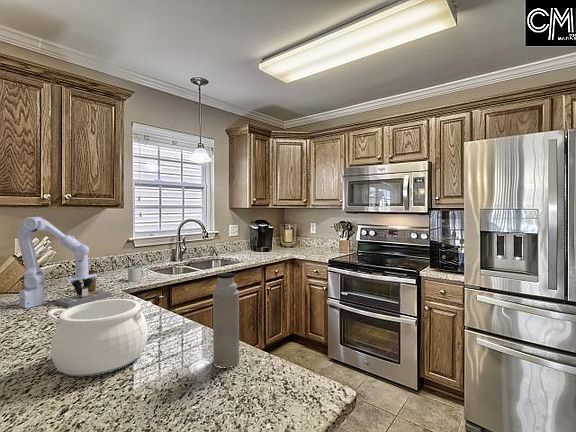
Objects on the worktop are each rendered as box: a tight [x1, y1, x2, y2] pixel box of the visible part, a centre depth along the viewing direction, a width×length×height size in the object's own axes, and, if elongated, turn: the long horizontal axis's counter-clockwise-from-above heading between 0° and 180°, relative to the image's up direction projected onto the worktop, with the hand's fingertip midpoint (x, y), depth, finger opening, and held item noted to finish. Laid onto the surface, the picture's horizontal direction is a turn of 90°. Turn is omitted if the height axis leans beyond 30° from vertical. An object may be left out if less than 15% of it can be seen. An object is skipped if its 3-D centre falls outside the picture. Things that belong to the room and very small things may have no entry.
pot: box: [46, 298, 152, 378], centre depth 101 cm, size 29×26×17 cm
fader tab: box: [76, 285, 88, 297], centre depth 165 cm, size 3×5×5 cm, turn 62°
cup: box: [127, 266, 145, 283], centre depth 211 cm, size 7×10×9 cm
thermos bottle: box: [212, 272, 240, 367], centre depth 99 cm, size 8×8×28 cm
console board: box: [54, 289, 113, 308], centre depth 167 cm, size 22×12×2 cm, turn 152°
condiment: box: [88, 269, 98, 292], centre depth 184 cm, size 7×8×12 cm
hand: (82, 294), depth 165 cm, fingers closed on fader tab, 3 cm apart
